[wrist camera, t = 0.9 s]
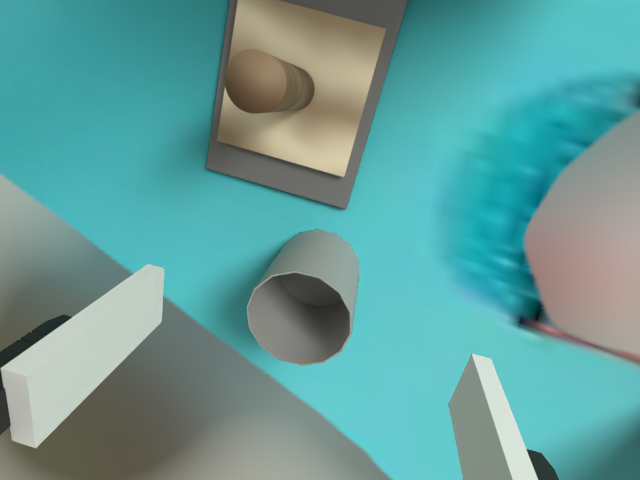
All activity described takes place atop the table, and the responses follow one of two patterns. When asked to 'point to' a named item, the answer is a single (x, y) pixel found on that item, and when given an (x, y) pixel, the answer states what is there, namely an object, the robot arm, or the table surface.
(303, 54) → the lid
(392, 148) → the table surface
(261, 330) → the cup
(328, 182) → the mat
